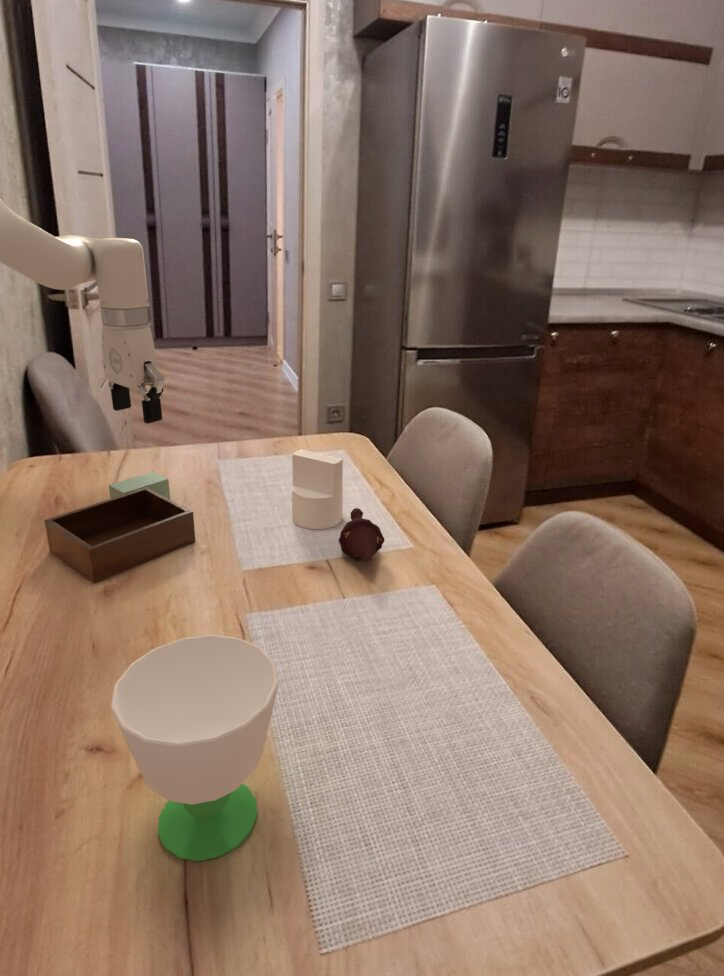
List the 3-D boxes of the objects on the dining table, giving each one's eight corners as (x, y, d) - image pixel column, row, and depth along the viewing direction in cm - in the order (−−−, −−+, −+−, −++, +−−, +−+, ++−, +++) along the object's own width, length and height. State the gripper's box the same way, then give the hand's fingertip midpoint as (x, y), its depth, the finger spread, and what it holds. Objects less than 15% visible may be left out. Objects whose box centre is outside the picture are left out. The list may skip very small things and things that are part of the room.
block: (111, 504, 122) (108, 484, 120) (155, 490, 128) (153, 471, 127) (126, 513, 119) (123, 493, 117) (170, 498, 126) (168, 478, 124)
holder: (49, 551, 106) (44, 520, 104) (149, 515, 119) (146, 487, 116) (94, 583, 98) (89, 550, 96) (195, 541, 111) (193, 511, 109)
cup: (153, 761, 69) (138, 634, 63) (288, 759, 70) (285, 633, 64) (109, 889, 56) (84, 746, 50) (274, 884, 57) (269, 743, 51)
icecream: (399, 542, 101) (378, 507, 115) (352, 534, 99) (337, 499, 113) (386, 583, 103) (368, 543, 116) (340, 576, 100) (327, 536, 114)
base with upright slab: (351, 513, 123) (352, 453, 119) (326, 533, 116) (326, 470, 111) (309, 503, 126) (309, 443, 122) (282, 521, 119) (281, 459, 114)
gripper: (77, 312, 113) (91, 408, 119) (134, 327, 103) (145, 431, 110) (119, 307, 118) (130, 400, 125) (176, 321, 108) (185, 421, 115)
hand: (137, 415), depth 117 cm, fingers open, 9 cm apart
